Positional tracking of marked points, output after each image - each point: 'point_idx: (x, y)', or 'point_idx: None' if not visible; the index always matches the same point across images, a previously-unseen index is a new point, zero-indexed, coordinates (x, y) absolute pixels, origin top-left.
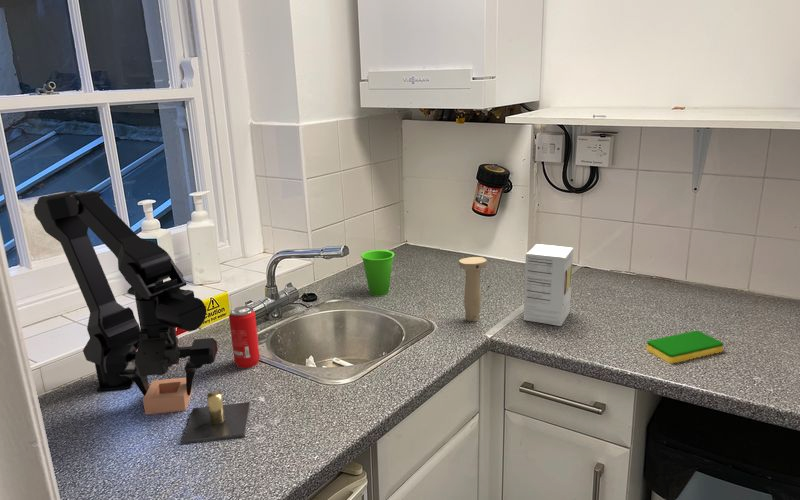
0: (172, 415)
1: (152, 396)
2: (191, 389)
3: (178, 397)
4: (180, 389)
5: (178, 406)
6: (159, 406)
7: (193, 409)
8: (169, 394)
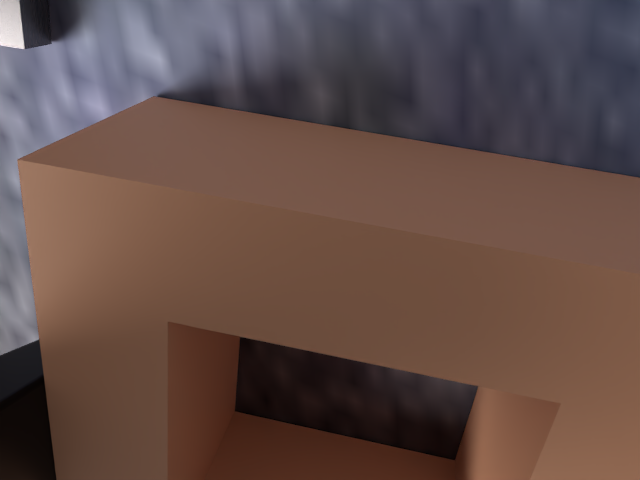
0: (306, 26)
1: (588, 356)
2: None
3: (118, 167)
4: (126, 384)
5: (207, 125)
6: (471, 184)
7: (10, 4)
8: (280, 305)
